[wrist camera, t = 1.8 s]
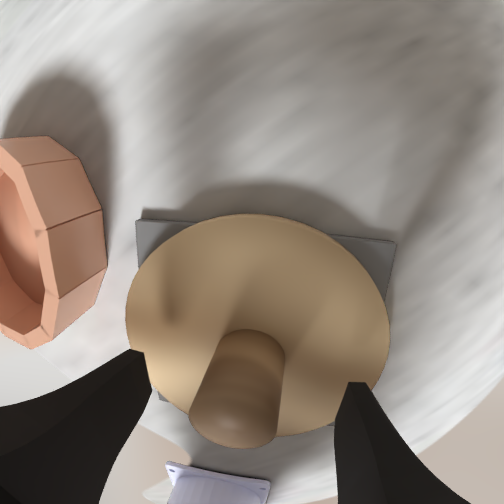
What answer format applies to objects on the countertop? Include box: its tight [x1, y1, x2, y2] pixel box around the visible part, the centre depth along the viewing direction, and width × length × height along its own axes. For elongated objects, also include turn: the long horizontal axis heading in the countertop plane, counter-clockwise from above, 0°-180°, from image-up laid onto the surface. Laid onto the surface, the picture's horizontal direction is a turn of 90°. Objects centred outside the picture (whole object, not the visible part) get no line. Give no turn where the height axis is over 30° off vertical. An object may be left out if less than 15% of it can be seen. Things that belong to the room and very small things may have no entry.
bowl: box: [0, 136, 107, 349], centre depth 11 cm, size 10×10×4 cm
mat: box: [135, 219, 396, 426], centre depth 12 cm, size 10×10×1 cm
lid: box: [125, 214, 390, 449], centre depth 10 cm, size 11×11×4 cm
